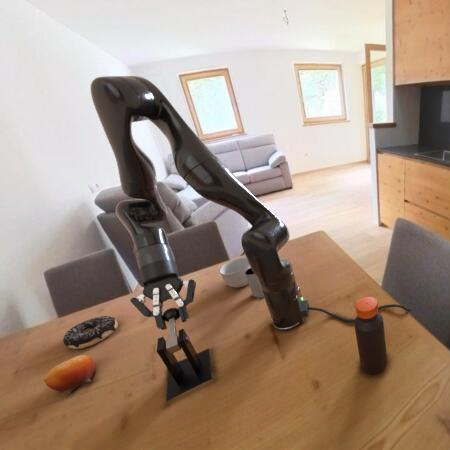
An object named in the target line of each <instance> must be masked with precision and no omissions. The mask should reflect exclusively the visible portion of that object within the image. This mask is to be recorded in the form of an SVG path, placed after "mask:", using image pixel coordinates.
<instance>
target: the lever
mask: <svg viewBox="0 0 450 450" xmlns="http://www.w3.org/2000/svg"><path fill="white" fill-rule="evenodd" d="M162 315H163V319H164V320H165V322H166V323H168V328H169V329H168V330H169V331H168V332H169V337H168V338H165V341H166V349H167V351H168V352H169V353H170V354H172V353H173V354H174V353H177V352H180V351H182V348H181V346H180V344H179V343H178V336H179V335H178V334H177V321H178V320H179V319H180V318H181V317H180V314H179V310H178V308H177V307H170V308H168V309H166V310H165V311H164V312H163V313H162Z"/></svg>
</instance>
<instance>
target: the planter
mask: <svg viewBox="0 0 450 450" xmlns="http://www.w3.org/2000/svg"><path fill="white" fill-rule="evenodd" d="M245 275H246V278H247V281H248V284H247V285H248V287H249V290H250V292H251V295H252V297H254V298H258V299H259V300H260V299H263V298H264V295H263V292H262V289H261V286H260V283H259V280H258V277H257V276H256V275H255V274H254V272H253V271H252V269H251V268H249V269H248V270H246V271H245Z"/></svg>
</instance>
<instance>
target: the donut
mask: <svg viewBox="0 0 450 450" xmlns="http://www.w3.org/2000/svg"><path fill="white" fill-rule="evenodd" d="M118 326H119V323H118V321H117V320H116V317H113V316H110V315H101V316H95V317H92V318H89V319H87V320H85V321H82V322H79V323H77V324H75V325H74V326H72V327H71V328H69V330H67V331H66V332H65V333H64V336H63V339H62V340H63V344H64V346H66V348H69V349H73V350H80V349H85V348H89V347H92V346H94V345H96V344H98V343H100V342H102V341H104V340H105V339H107V338H108V337H110V336H111V335H112V334H113V333H115V331H116V330H117V329H118Z"/></svg>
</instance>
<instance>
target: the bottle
mask: <svg viewBox="0 0 450 450" xmlns="http://www.w3.org/2000/svg"><path fill="white" fill-rule="evenodd" d="M378 307H379V305H378V301H377V299H376V298H375V297H372V296H363V297H361V298H359V299H358V300H357V301H356V303H355V311H356V317H355V318H354V319H355V321H354V322H353V325H354V332H355V337H356V343H357V350H358V356H359V363H360V368H361V370H362V371H363V373H365V374H367V375H369V376H376V375H379V374H381V373H383V371H384V370H385V369H386V367H387V365H388V356H387V355H388V353H387V344H386V334H385V325H384V317H383V315H382V313H380V312H379V310H378Z"/></svg>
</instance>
